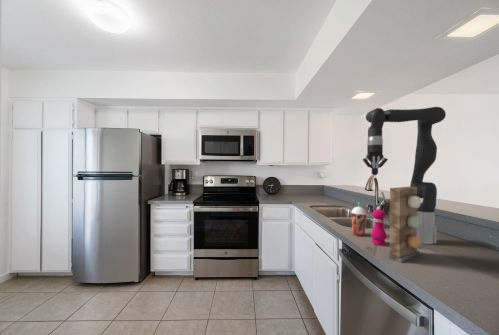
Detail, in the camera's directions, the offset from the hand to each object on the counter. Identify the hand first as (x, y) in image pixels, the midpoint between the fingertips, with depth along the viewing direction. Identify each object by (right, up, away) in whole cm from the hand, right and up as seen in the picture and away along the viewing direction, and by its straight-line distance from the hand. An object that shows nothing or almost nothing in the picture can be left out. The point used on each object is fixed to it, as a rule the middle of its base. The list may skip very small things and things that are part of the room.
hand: (374, 175), depth 122 cm
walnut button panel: (+1, -37, -22) cm, 43 cm away
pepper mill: (-1, -37, -6) cm, 38 cm away
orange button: (+3, -32, -25) cm, 41 cm away
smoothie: (-5, -37, +9) cm, 39 cm away
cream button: (+3, -14, -25) cm, 29 cm away
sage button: (+3, -23, -25) cm, 34 cm away
